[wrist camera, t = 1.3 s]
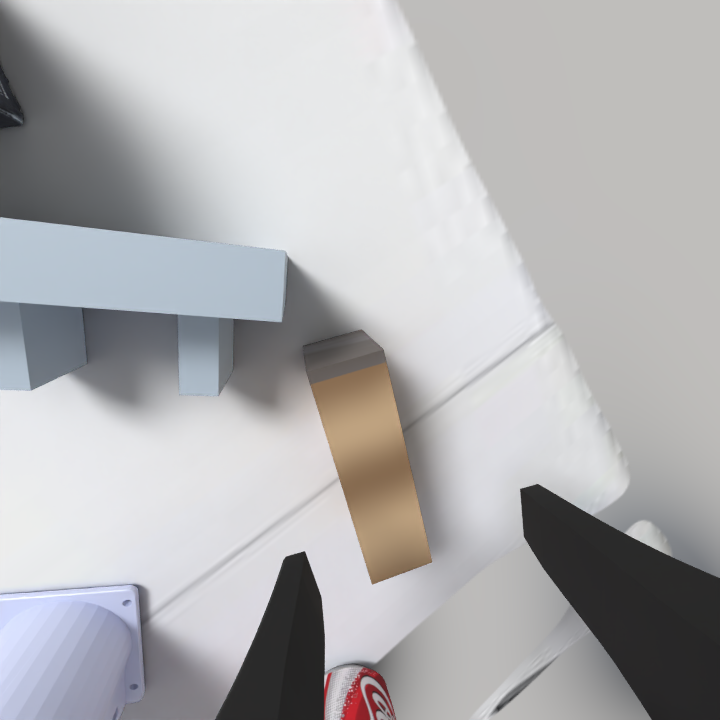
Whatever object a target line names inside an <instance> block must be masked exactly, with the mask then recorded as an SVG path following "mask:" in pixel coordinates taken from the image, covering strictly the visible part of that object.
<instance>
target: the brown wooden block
mask: <svg viewBox="0 0 720 720" xmlns="http://www.w3.org/2000/svg"><path fill="white" fill-rule="evenodd" d="M303 349H304V357H305V365H306V372H307V375H308V379H309V382H310V385H311V388H312V391H313V395H314V398H315V401H316V404H317V408H318V411H319V414H320V417H321V421H322V424H323V427H324V430H325V434H326V437H327V440H328V443H329V446H330V450H331V453H332V456H333V459H334V463H335V466H336V469H337V472H338V476H339V479H340V482H341V485H342V488H343V492H344V495H345V498H346V501H347V505H348V508H349V511H350V514H351V518H352V521H353V524H354V527H355V531H356V534H357V537H358V540H359V543H360V547H361V550H362V553H363V556H364V560H365V563H366V566H367V569H368V573H369V576H370V579H371V582H372V584H375V583H378V582H380V581H383V580H386V579H389V578H391V577H394V576H397V575H399V574H402V573H405V572H407V571H410V570H413V569H415V568H418V567H421V566H424V565H426V564H429V563H432V559H431V554H430V550H429V546H428V541H427V537H426V533H425V528H424V524H423V519H422V515H421V511H420V506H419V502H418V498H417V493H416V489H415V485H414V480H413V476H412V472H411V467H410V463H409V459H408V454H407V450H406V446H405V441H404V437H403V433H402V428H401V424H400V419H399V415H398V411H397V406H396V402H395V398H394V393H393V389H392V385H391V380H390V376H389V372H388V367H387V363H386V359H385V354H384V350H383V349H382V348H381V347H380V346H379V345H378V344H377V343H376V342H375V341H374V340H373V339H371V338H370V337H369V336H368V335H367V334H366V333H365V332H364V331H363V330H358V331H355V332H351V333H348V334H344V335H341V336H337V337H334V338H330V339H326V340H323V341H319V342H316V343H312V344H309V345H305V346H303Z"/></svg>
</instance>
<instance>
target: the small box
mask: <svg viewBox="0 0 720 720" xmlns="http://www.w3.org/2000/svg"><path fill="white" fill-rule="evenodd" d="M8 82H9V81H8V79H7V78H6V77H5V75H4V73H3V70H2V68H1V66H0V128H5V127H11V126H21V125H23V114H22V112H21V111H20V106H19V104H18V102H17V100H16V98H15V96H14V95H13V94H12V92H11V89H10V87H9V85H8Z"/></svg>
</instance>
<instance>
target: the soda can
mask: <svg viewBox="0 0 720 720" xmlns="http://www.w3.org/2000/svg"><path fill="white" fill-rule="evenodd" d="M324 720H396V718H395V713H394V709H393V706H392V702H391V699H390V696H389V693H388V690H387V687H386V683H385V681H384V679H383V677H382V676H381V675H380V674H378V673H377V672H376V671H374V670H371V669H369V668H365V667H363V666H360V665H355V664H348V665H342V666H338V667H335V668H333V669H331V670H329V671H327V672H326V673H325V675H324Z"/></svg>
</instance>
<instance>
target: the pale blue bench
mask: <svg viewBox="0 0 720 720" xmlns="http://www.w3.org/2000/svg"><path fill="white" fill-rule="evenodd" d="M287 264H288V256H287V253H286V251H283V250H275V249H266V248H257V247H249V246H240V245H232V244H223V243H215V242H206V241H198V240H189V239H181V238H172V237H164V236H155V235H147V234H138V233H130V232H121V231H113V230H104V229H96V228H87V227H78V226H70V225H61V224H53V223H44V222H36V221H27V220H19V219H10V218H2V217H0V390H27V391H31V390H33V389H35V388H37V387H40V386H42V385H44V384H46V383H48V382H50V381H52V380H54V379H56V378H58V377H60V376H63V375H65V374H67V373H69V372H71V371H73V370H75V369H77V368H79V367H81V366H84V365H86V364H87V355H86V344H85V334H84V323H83V312H82V307H84V308H98V309H111V310H125V311H138V312H151V313H165V314H177V321H178V359H179V395H196V396H219V394H220V393H221V391H222V389H223V387H224V385H225V384H226V382H227V380H228V378H229V377H230V375H231V373H232V371H233V346H234V319H245V320H259V321H272V322H282V319H283V313H284V308H285V302H286V283H287Z"/></svg>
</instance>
